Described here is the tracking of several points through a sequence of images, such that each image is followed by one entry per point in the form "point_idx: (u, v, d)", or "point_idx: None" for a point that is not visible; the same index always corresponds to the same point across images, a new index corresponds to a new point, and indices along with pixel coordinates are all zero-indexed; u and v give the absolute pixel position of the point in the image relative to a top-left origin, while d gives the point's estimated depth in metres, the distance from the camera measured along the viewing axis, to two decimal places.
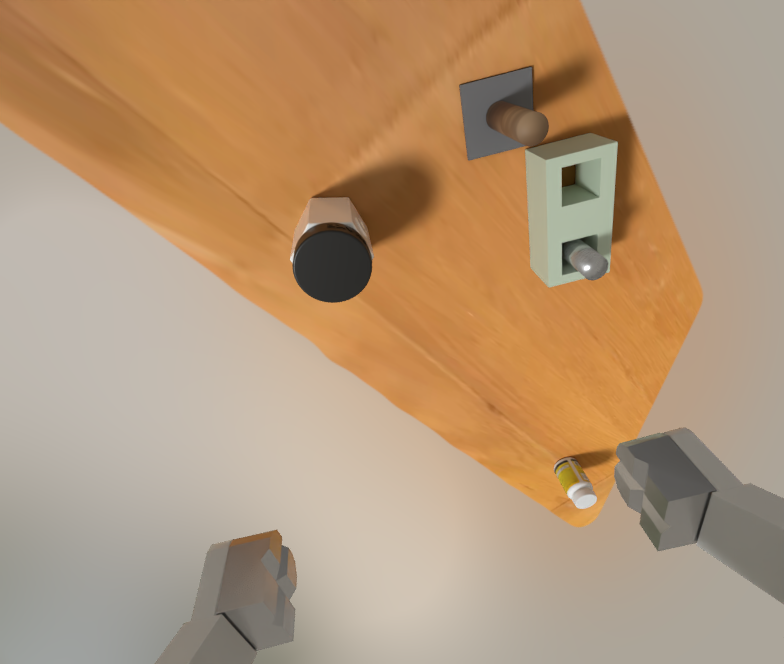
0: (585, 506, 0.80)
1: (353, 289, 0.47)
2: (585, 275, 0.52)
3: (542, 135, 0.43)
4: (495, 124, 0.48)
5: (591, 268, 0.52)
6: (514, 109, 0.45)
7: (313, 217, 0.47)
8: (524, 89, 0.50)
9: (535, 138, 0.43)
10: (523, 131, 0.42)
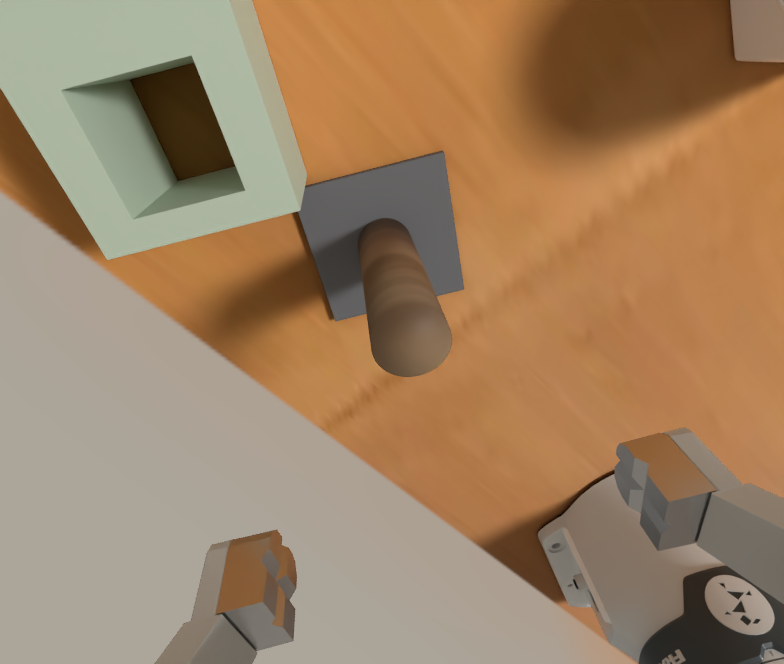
0: None
1: None
2: None
3: (384, 333, 0.16)
4: None
5: None
6: None
7: None
8: (341, 289, 0.26)
9: (402, 326, 0.16)
10: (437, 339, 0.16)
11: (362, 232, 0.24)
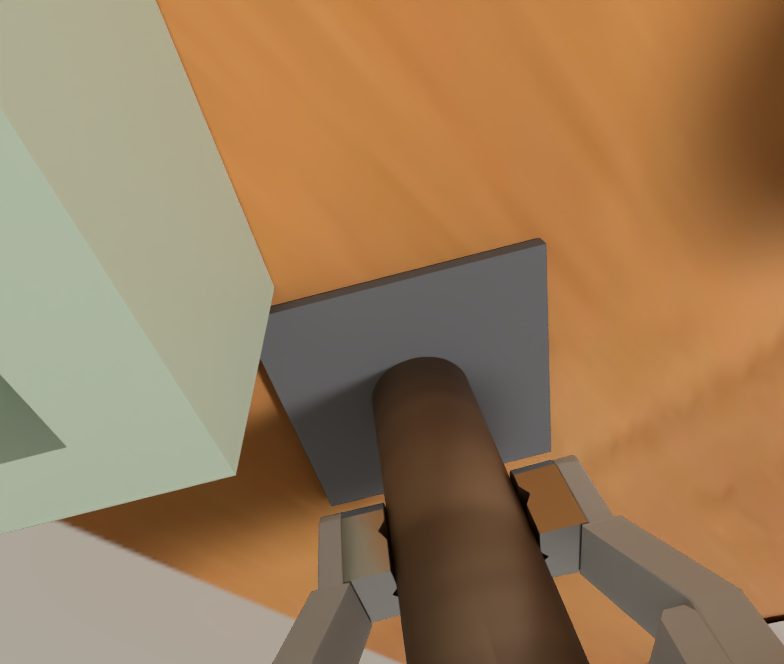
0: None
1: None
2: None
3: None
4: None
5: None
6: None
7: None
8: (341, 463, 0.15)
9: None
10: None
11: (381, 384, 0.13)
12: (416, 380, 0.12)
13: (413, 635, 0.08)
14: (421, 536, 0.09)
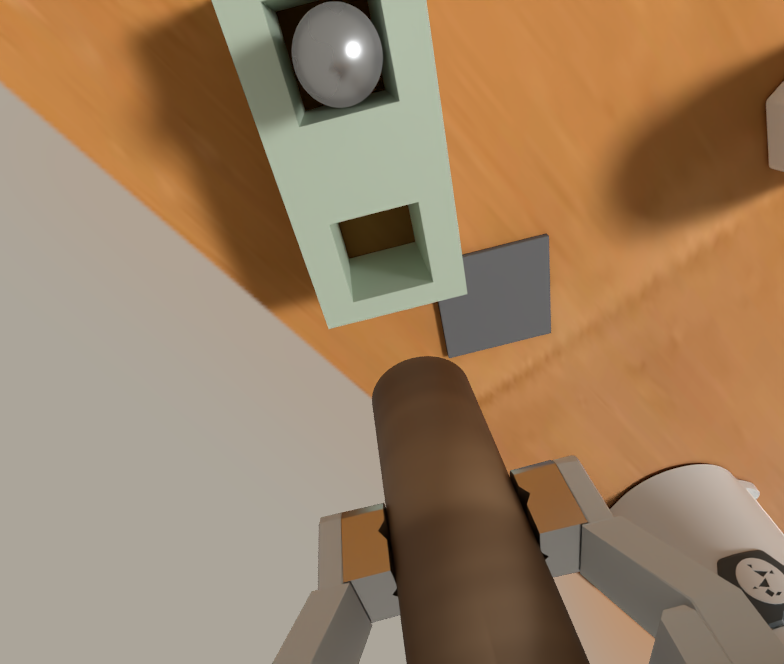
0: None
1: None
2: (369, 26, 0.14)
3: None
4: None
5: (354, 58, 0.15)
6: None
7: None
8: (457, 334, 0.33)
9: None
10: None
11: (381, 384, 0.13)
12: (416, 380, 0.12)
13: (413, 635, 0.08)
14: (421, 536, 0.09)
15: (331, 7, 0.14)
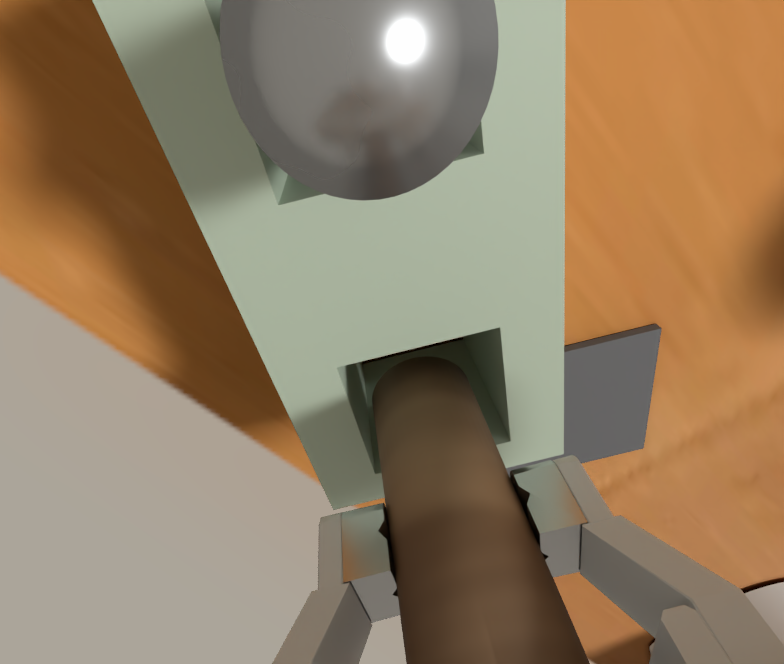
0: None
1: None
2: None
3: None
4: None
5: (414, 65, 0.05)
6: None
7: None
8: None
9: None
10: None
11: (381, 384, 0.13)
12: (416, 380, 0.12)
13: (413, 634, 0.08)
14: (421, 535, 0.09)
15: None
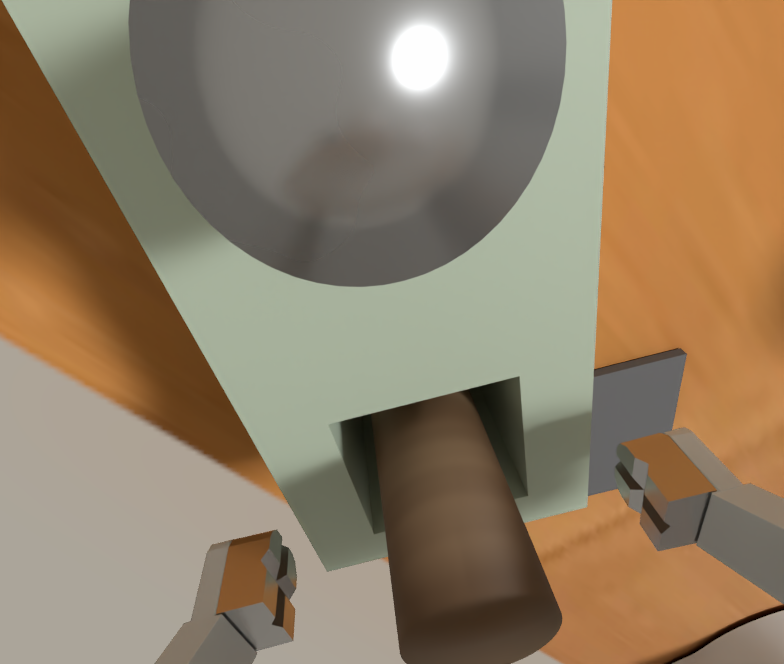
0: None
1: None
2: None
3: (427, 631, 0.08)
4: None
5: (437, 102, 0.03)
6: None
7: None
8: None
9: (465, 619, 0.08)
10: (532, 627, 0.08)
11: None
12: None
13: (385, 476, 0.10)
14: (393, 415, 0.11)
15: None
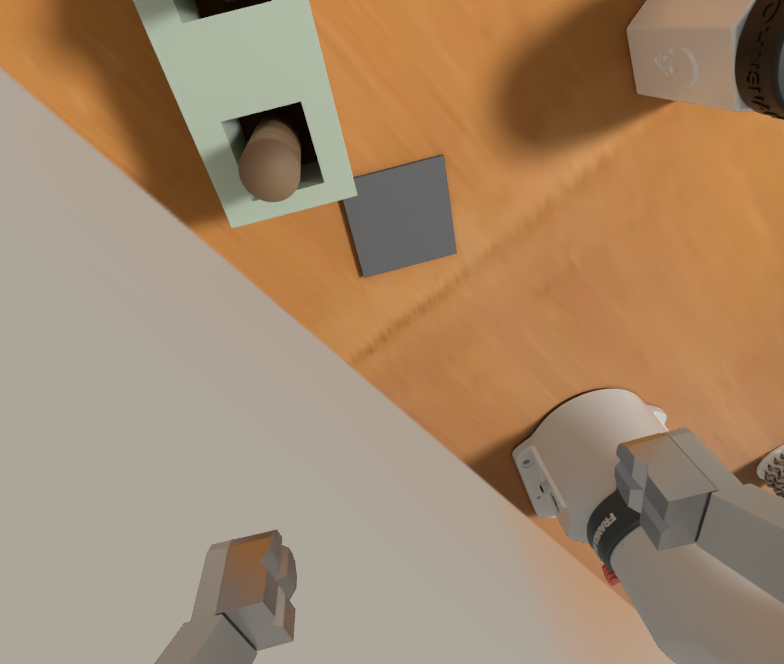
0: None
1: None
2: None
3: (246, 161, 0.22)
4: (298, 136, 0.28)
5: None
6: None
7: None
8: (369, 253, 0.36)
9: (259, 156, 0.22)
10: (288, 168, 0.22)
11: None
12: (269, 114, 0.29)
13: None
14: (254, 131, 0.26)
15: None
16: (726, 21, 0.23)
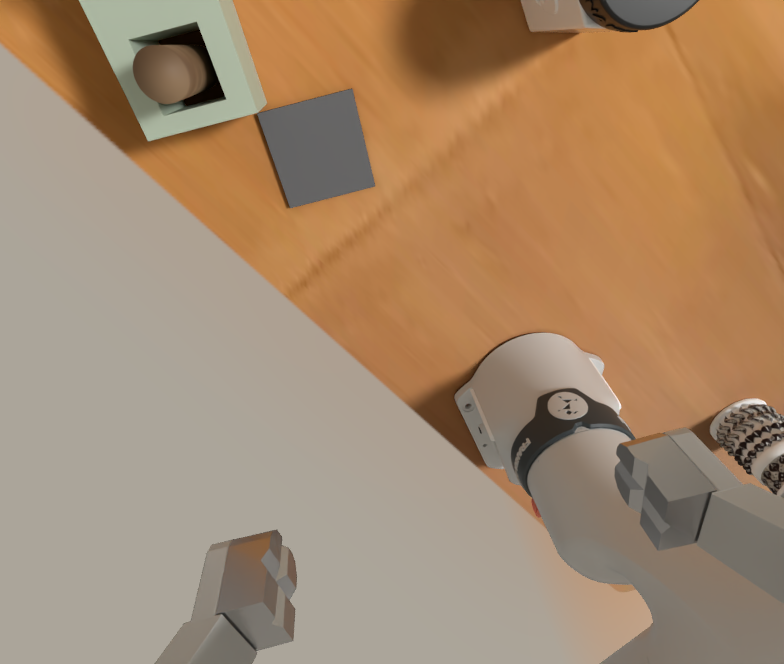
0: None
1: None
2: None
3: (139, 65, 0.26)
4: (208, 62, 0.32)
5: None
6: (193, 94, 0.30)
7: None
8: (292, 183, 0.40)
9: (150, 59, 0.26)
10: (176, 72, 0.26)
11: None
12: None
13: None
14: None
15: None
16: None
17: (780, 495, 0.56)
